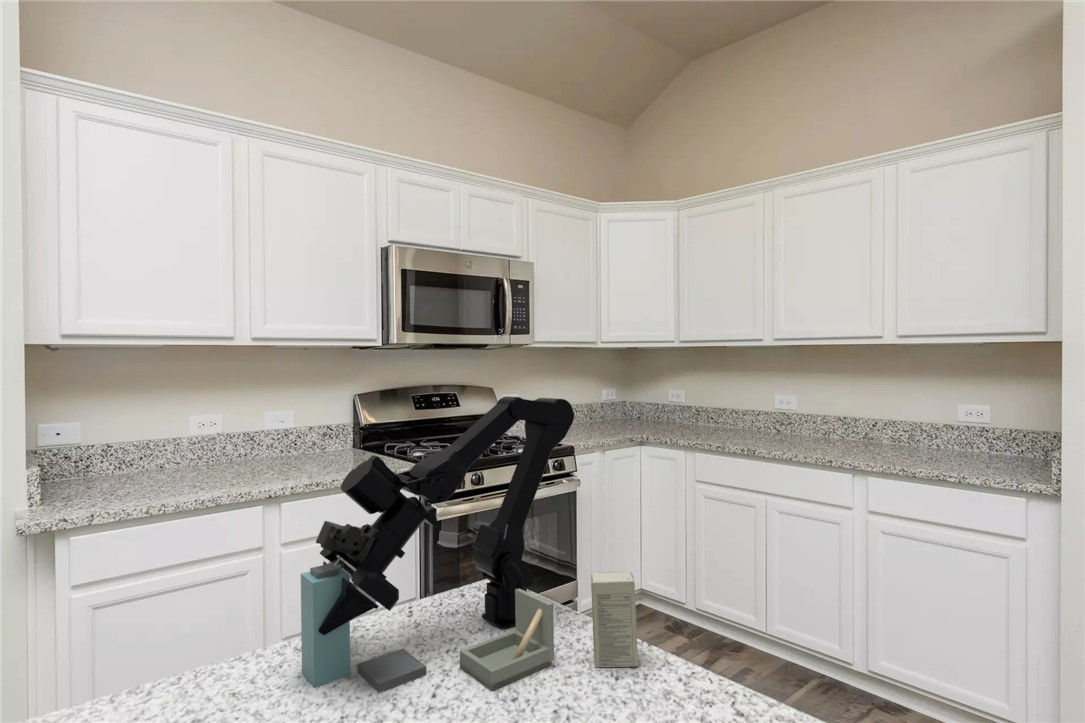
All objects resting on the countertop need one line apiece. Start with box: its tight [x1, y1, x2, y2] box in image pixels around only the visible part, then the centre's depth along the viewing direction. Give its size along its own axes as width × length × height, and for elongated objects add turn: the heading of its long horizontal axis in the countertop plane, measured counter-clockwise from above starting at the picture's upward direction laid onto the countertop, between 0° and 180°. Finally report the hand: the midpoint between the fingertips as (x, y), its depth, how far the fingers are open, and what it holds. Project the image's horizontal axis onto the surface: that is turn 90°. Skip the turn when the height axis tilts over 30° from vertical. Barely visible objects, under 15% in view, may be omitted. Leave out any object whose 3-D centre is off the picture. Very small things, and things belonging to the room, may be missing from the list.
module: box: [300, 563, 351, 688], centre depth 83 cm, size 5×5×15 cm
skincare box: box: [590, 570, 639, 668], centre depth 86 cm, size 6×4×12 cm
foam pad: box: [356, 648, 427, 694], centre depth 83 cm, size 7×7×1 cm
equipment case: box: [459, 589, 555, 692], centre depth 85 cm, size 11×8×9 cm
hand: (315, 626), depth 83 cm, fingers closed on module, 5 cm apart
